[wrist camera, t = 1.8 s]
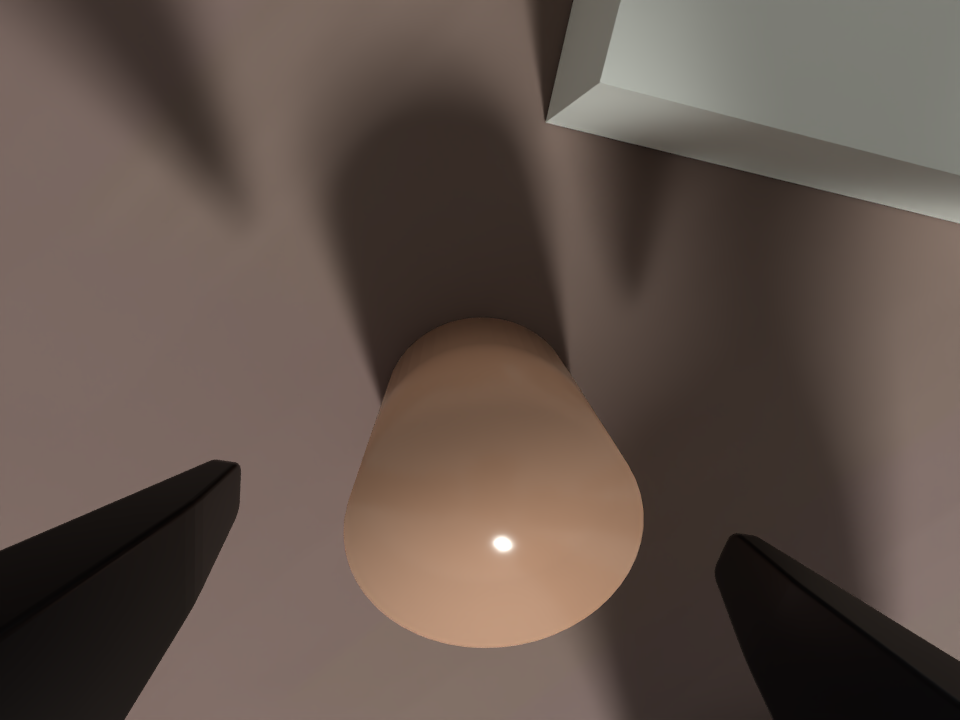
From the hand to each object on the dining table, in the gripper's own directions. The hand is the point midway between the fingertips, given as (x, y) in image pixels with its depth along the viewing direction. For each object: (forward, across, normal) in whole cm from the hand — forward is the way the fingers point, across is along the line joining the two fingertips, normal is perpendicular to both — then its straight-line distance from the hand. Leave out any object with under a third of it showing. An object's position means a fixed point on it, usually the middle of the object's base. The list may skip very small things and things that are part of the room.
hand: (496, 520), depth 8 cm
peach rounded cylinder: (+4, 0, 0) cm, 4 cm away
